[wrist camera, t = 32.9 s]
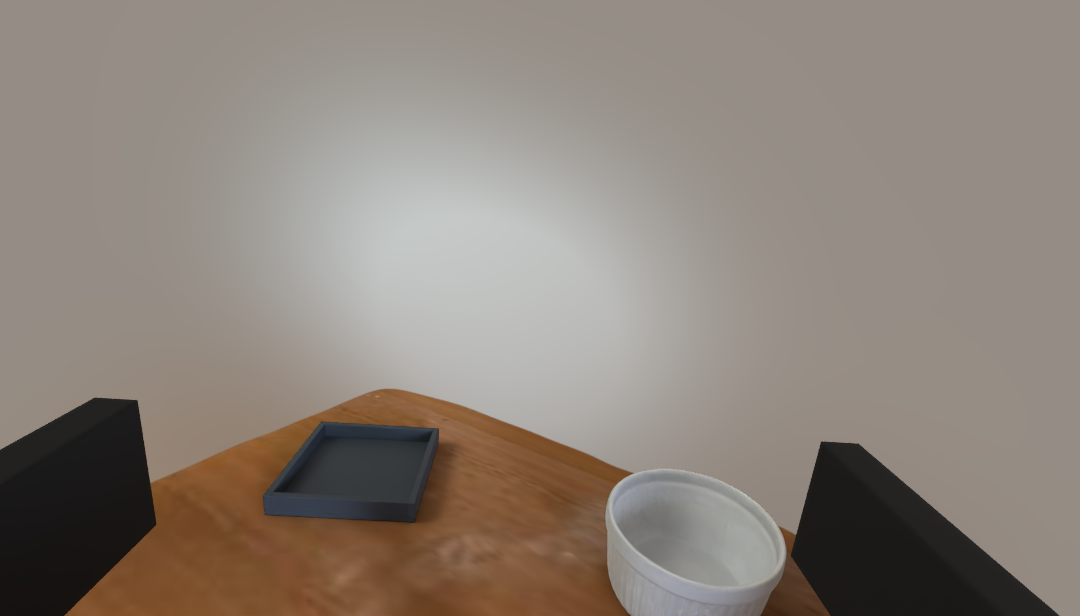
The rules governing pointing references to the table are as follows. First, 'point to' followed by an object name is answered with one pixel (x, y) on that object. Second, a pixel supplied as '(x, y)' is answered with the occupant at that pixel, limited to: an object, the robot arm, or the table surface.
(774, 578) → the ramekin
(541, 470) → the table surface
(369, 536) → the table surface
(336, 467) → the tray
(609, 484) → the table surface
